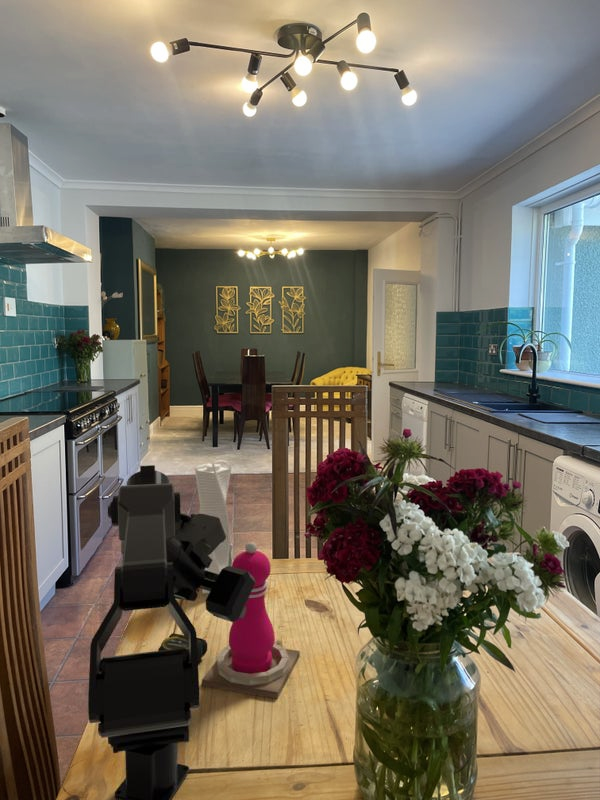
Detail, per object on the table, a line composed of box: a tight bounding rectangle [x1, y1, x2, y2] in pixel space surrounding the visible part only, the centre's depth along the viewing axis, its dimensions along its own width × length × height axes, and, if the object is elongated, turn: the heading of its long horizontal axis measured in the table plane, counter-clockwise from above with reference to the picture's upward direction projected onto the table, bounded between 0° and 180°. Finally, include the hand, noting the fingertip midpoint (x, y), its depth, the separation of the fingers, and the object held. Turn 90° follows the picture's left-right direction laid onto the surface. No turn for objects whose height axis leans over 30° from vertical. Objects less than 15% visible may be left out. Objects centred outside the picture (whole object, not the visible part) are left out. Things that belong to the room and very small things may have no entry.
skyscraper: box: [194, 459, 234, 597], centre depth 123 cm, size 8×8×28 cm
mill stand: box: [201, 642, 301, 700], centre depth 94 cm, size 12×12×2 cm
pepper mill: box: [228, 541, 276, 674], centre depth 92 cm, size 7×7×20 cm
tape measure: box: [157, 633, 208, 664], centre depth 96 cm, size 7×7×4 cm
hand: (219, 605), depth 86 cm, fingers open, 9 cm apart
